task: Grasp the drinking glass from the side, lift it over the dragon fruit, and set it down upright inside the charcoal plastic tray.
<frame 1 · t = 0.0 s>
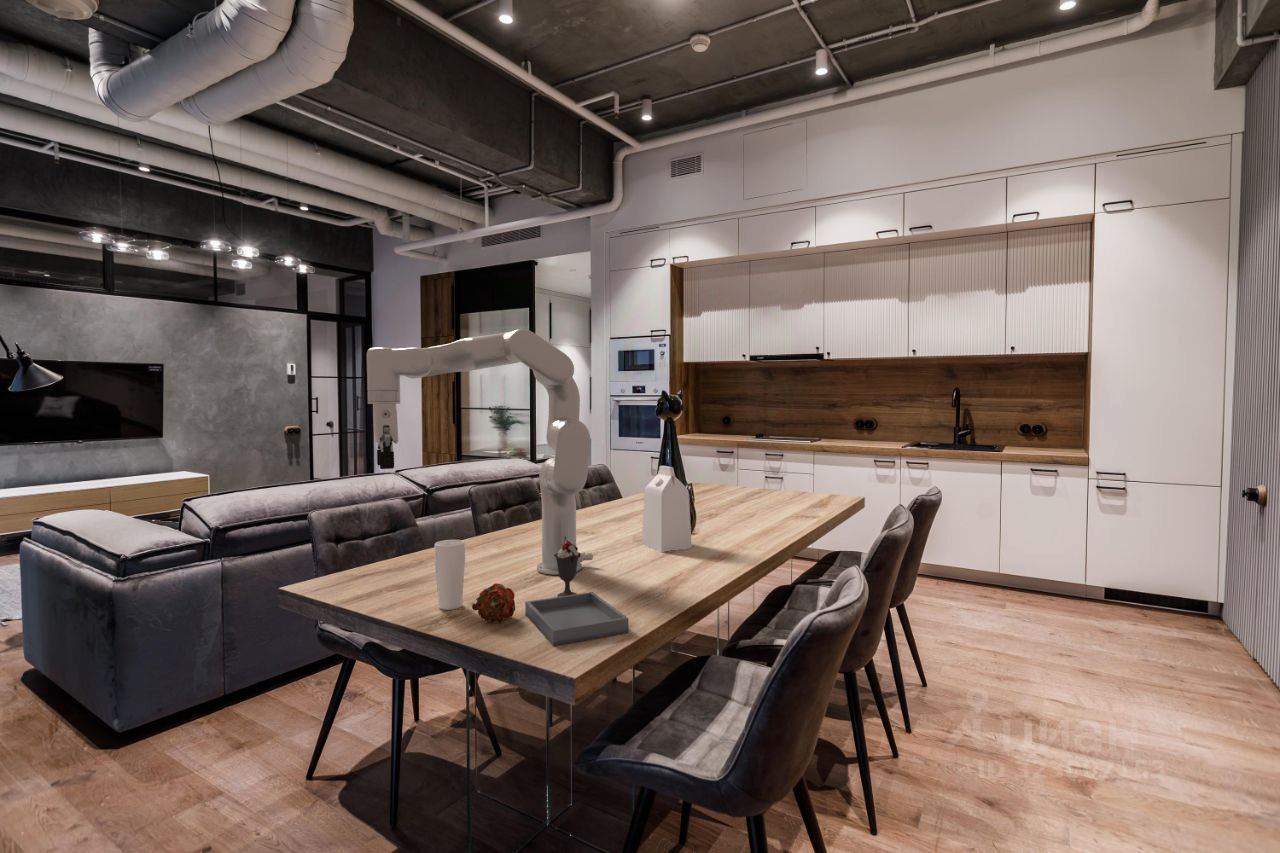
hand: (385, 466, 159), 31 cm above the table, tool pointing down, fingers open, 9 cm apart
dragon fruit: (495, 620, 139), on the table
milk: (666, 547, 207), on the table
tray: (574, 623, 136), on the table
sundae: (567, 596, 156), on the table
drinking glass: (450, 607, 148), on the table
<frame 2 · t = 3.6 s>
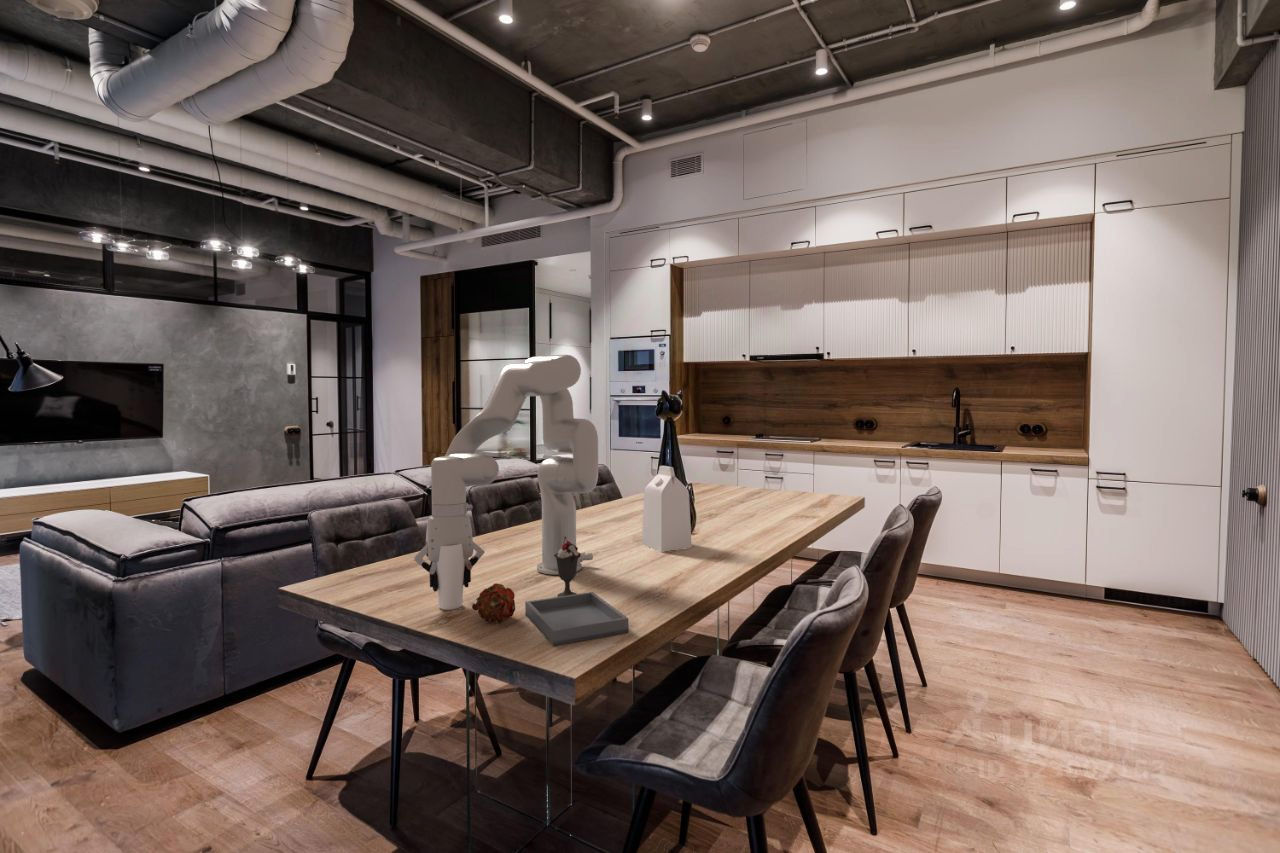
hand: (450, 587, 147), 5 cm above the table, tool pointing down, fingers closed on drinking glass, 6 cm apart
drinking glass: (450, 607, 148), on the table, touching gripper
everything else where it was.
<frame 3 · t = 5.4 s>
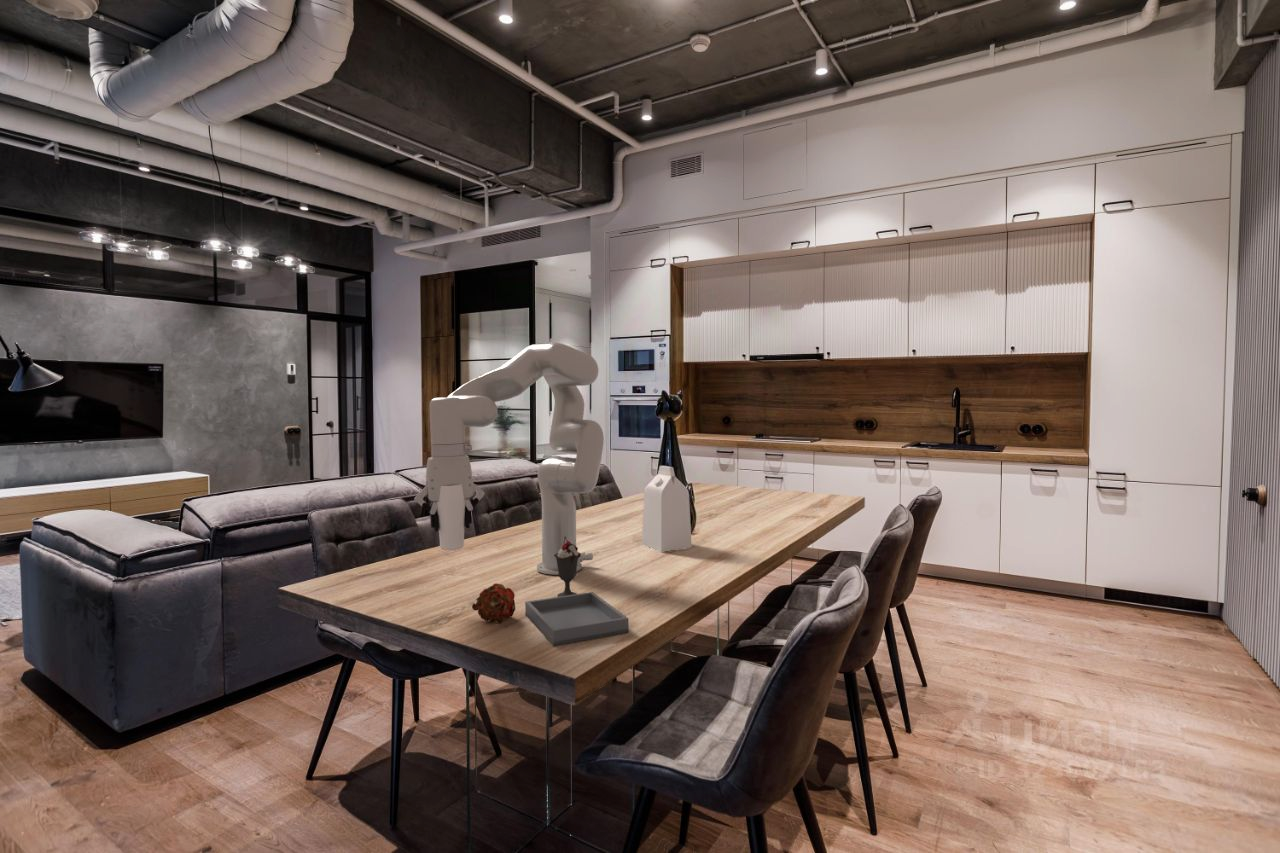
hand: (451, 528, 147), 18 cm above the table, tool pointing down, fingers closed on drinking glass, 6 cm apart
drinking glass: (452, 549, 148), point 13 cm above the table, touching gripper
everything else where it was.
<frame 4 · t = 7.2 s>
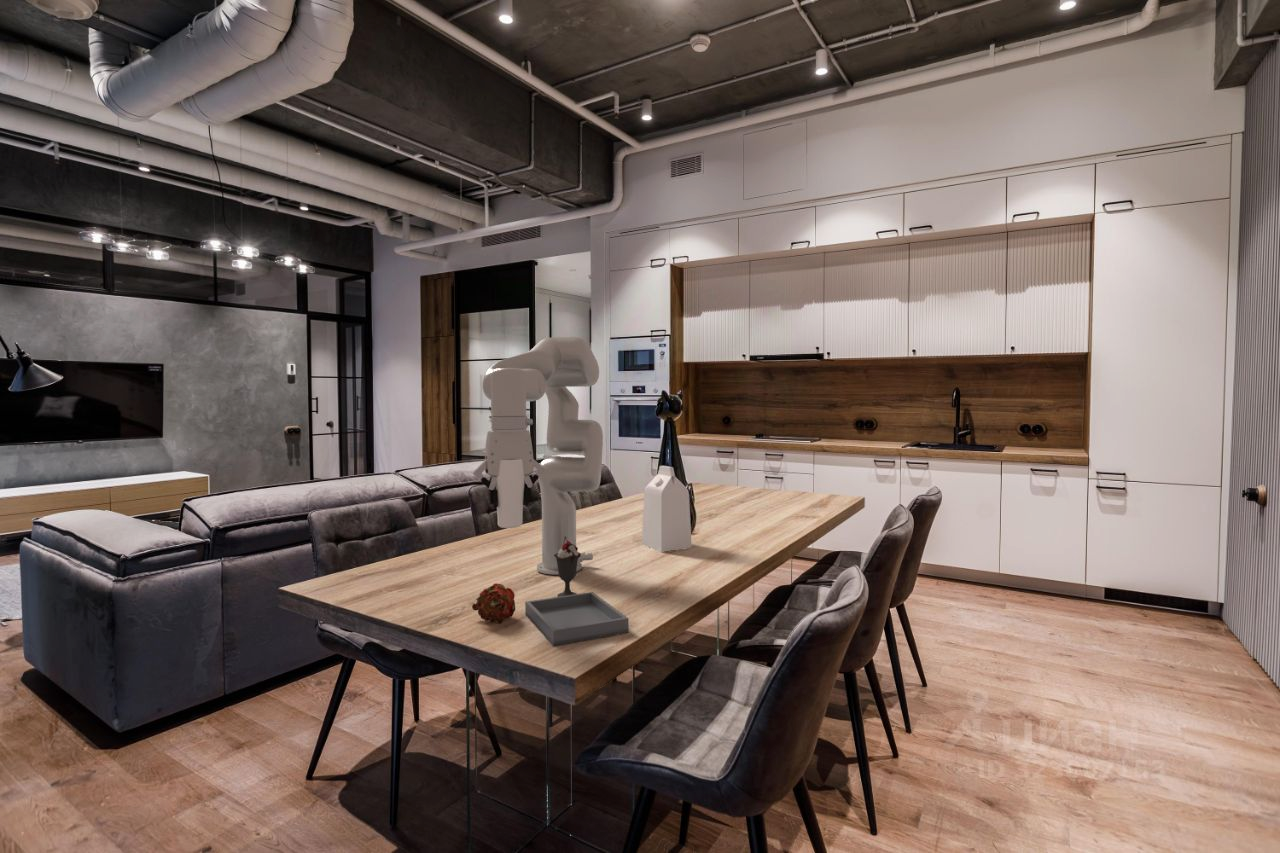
hand: (510, 505, 141), 25 cm above the table, tool pointing down, fingers closed on drinking glass, 6 cm apart
drinking glass: (510, 527, 141), point 20 cm above the table, touching gripper
everything else where it was.
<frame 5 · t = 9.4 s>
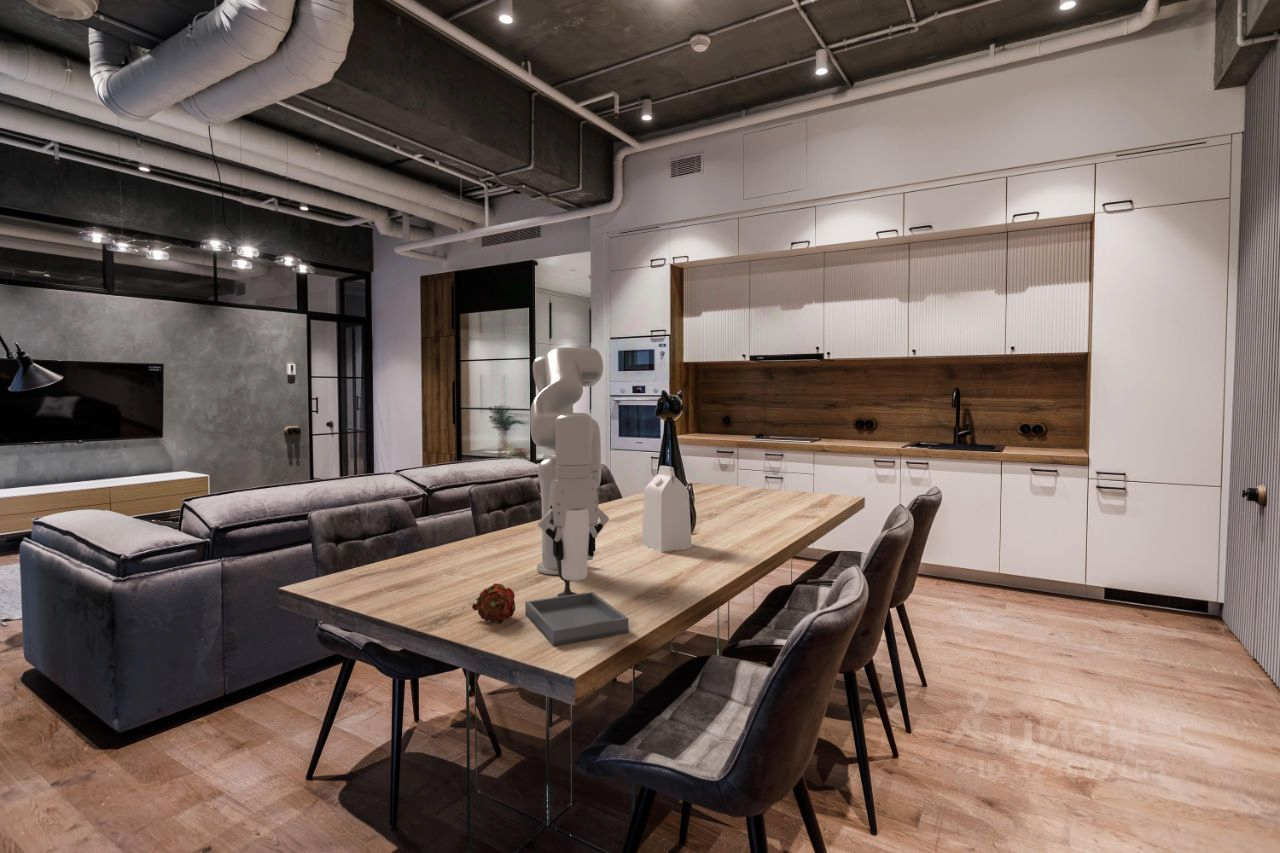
hand: (574, 556, 136), 15 cm above the table, tool pointing down, fingers closed on drinking glass, 6 cm apart
drinking glass: (574, 579, 136), point 10 cm above the table, touching gripper
everything else where it was.
when the fingers open (7 cm above the table, at t = 11.1 s): drinking glass drops 1 cm, resting on tray.
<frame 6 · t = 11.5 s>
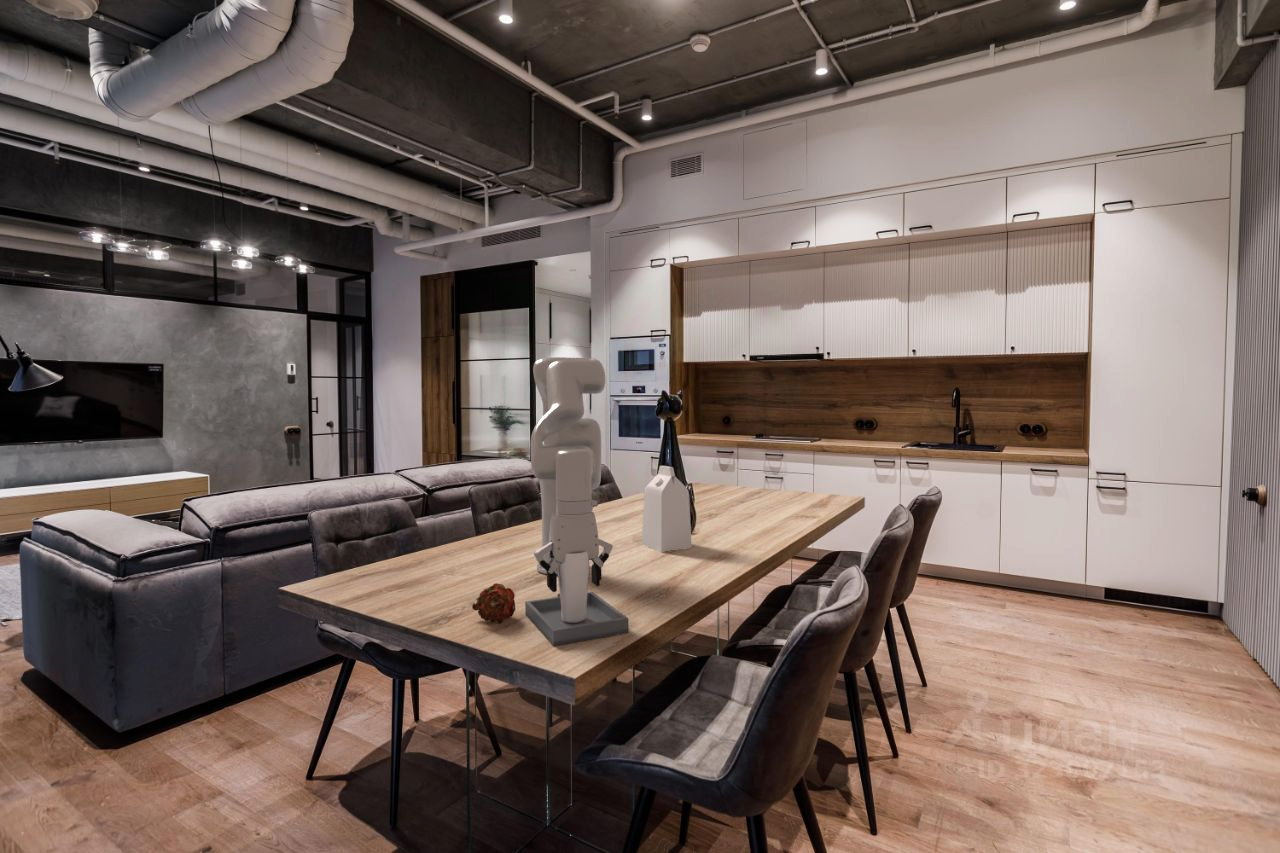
hand: (574, 587, 136), 8 cm above the table, tool pointing down, fingers open, 9 cm apart
drinking glass: (574, 620, 136), point 1 cm above the table, touching tray
everything else where it was.
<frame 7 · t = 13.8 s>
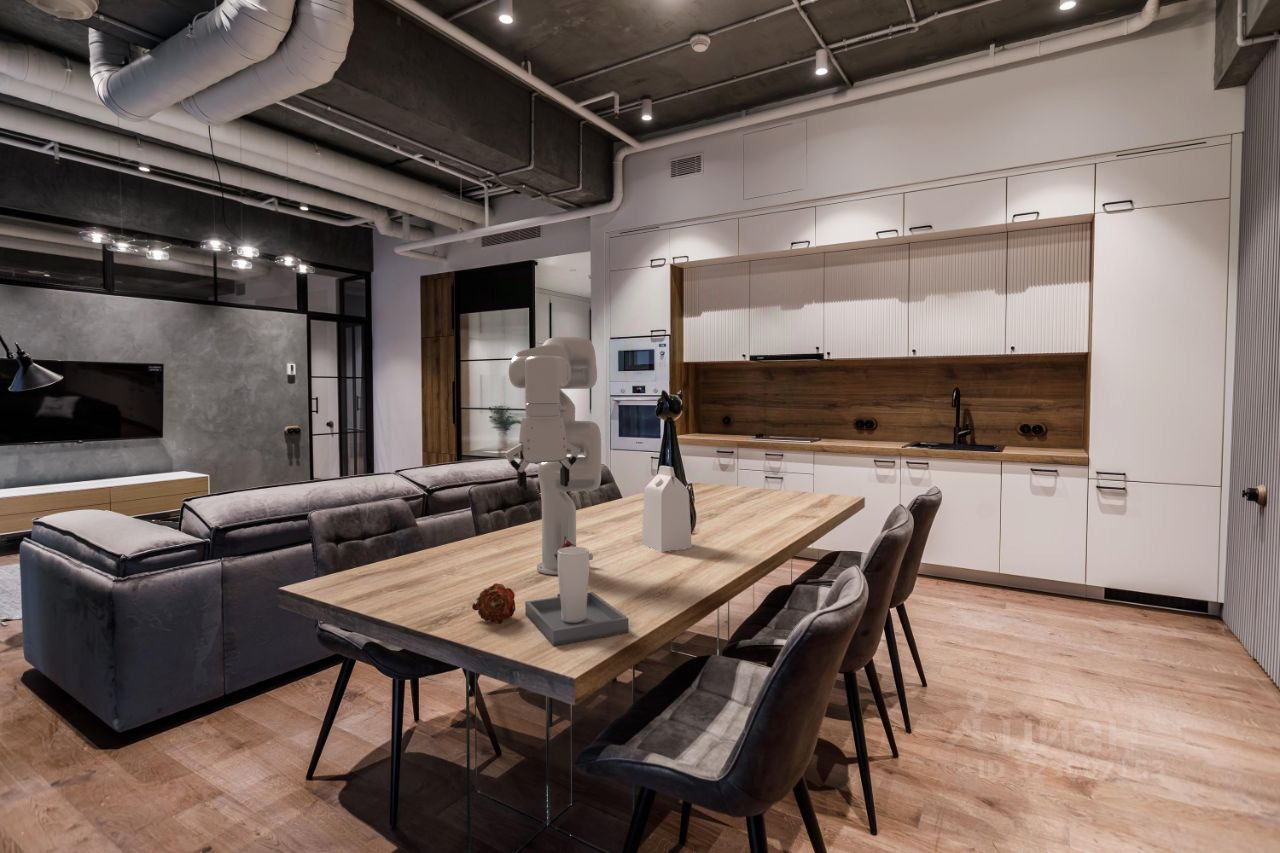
hand: (543, 487, 144), 28 cm above the table, tool pointing down, fingers open, 9 cm apart
nothing on the table moved.
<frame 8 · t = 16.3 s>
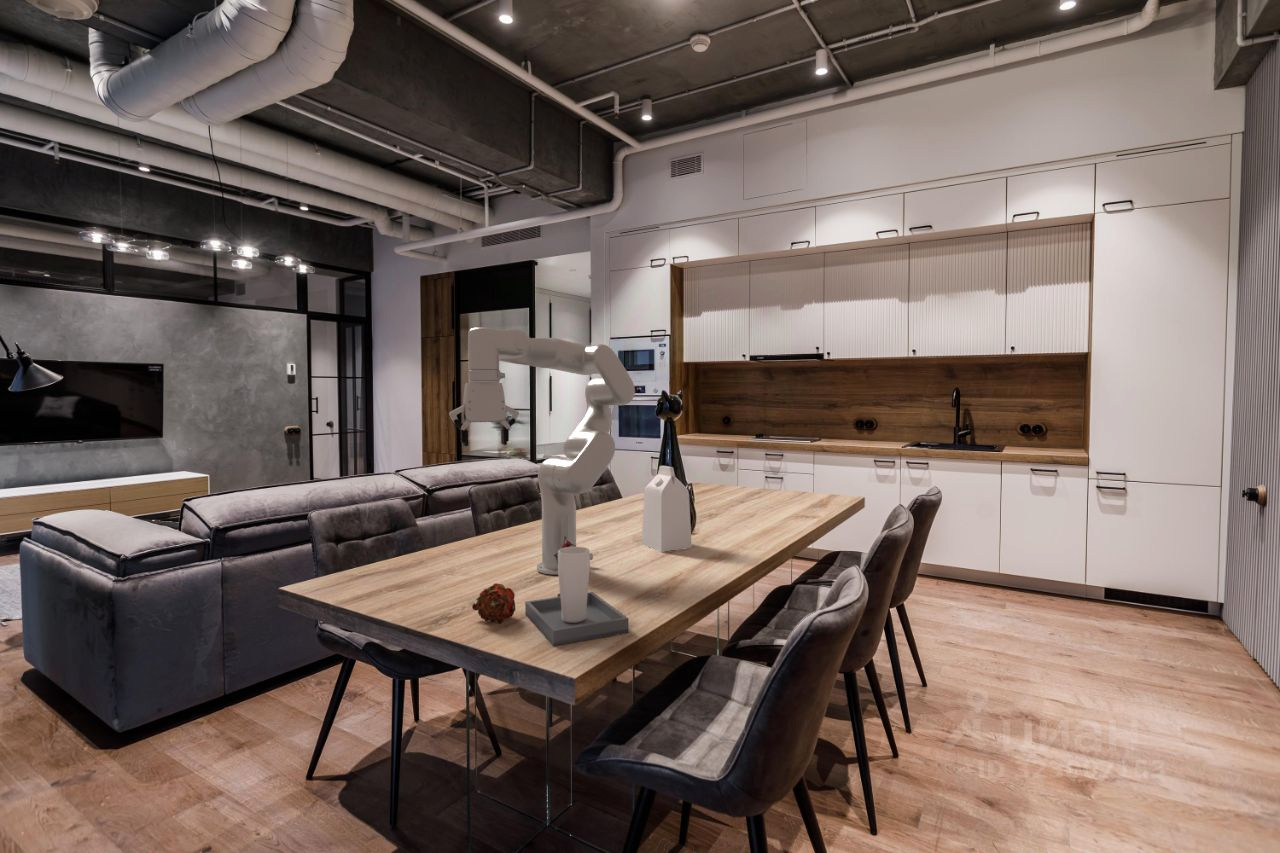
hand: (485, 445, 162), 36 cm above the table, tool pointing down, fingers open, 9 cm apart
nothing on the table moved.
at the end: drinking glass inside the target area on the tray (0.1 cm from its centre), point 0.6 cm above the tray's base; drinking glass tilted 0°; the gripper is holding nothing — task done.
